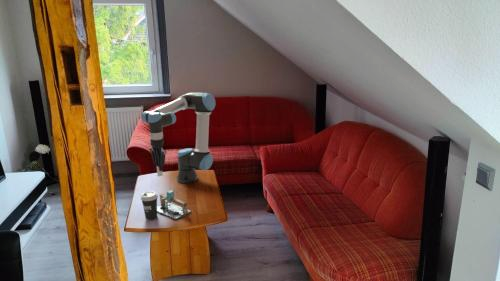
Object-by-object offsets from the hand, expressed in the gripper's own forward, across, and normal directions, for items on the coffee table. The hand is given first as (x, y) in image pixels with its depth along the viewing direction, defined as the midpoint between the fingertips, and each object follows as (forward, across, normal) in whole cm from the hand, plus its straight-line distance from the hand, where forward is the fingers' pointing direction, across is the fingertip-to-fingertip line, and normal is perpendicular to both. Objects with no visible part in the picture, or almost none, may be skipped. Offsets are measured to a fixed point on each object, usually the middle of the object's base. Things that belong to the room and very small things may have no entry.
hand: (160, 175), depth 225 cm
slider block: (+19, +8, -1) cm, 21 cm away
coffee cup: (+21, +6, -14) cm, 26 cm away
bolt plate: (+21, +10, -2) cm, 23 cm away
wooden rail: (+20, +10, -1) cm, 22 cm away
